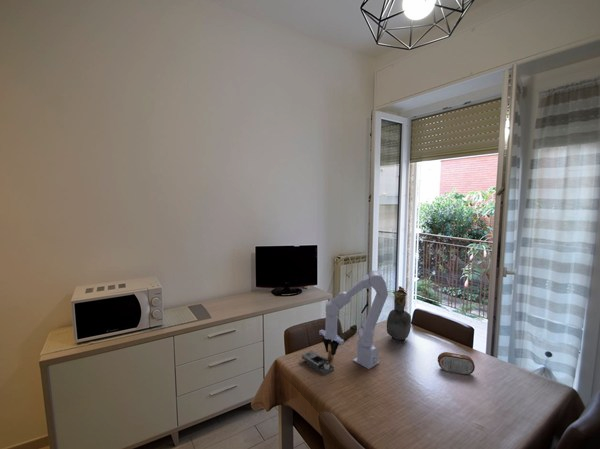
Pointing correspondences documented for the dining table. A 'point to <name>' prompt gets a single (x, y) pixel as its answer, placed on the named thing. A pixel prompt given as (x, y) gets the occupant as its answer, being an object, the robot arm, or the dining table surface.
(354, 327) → the hand tool
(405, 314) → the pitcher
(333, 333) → the robot arm
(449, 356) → the tin
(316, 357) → the grey plate with knobs
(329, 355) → the copper pin
